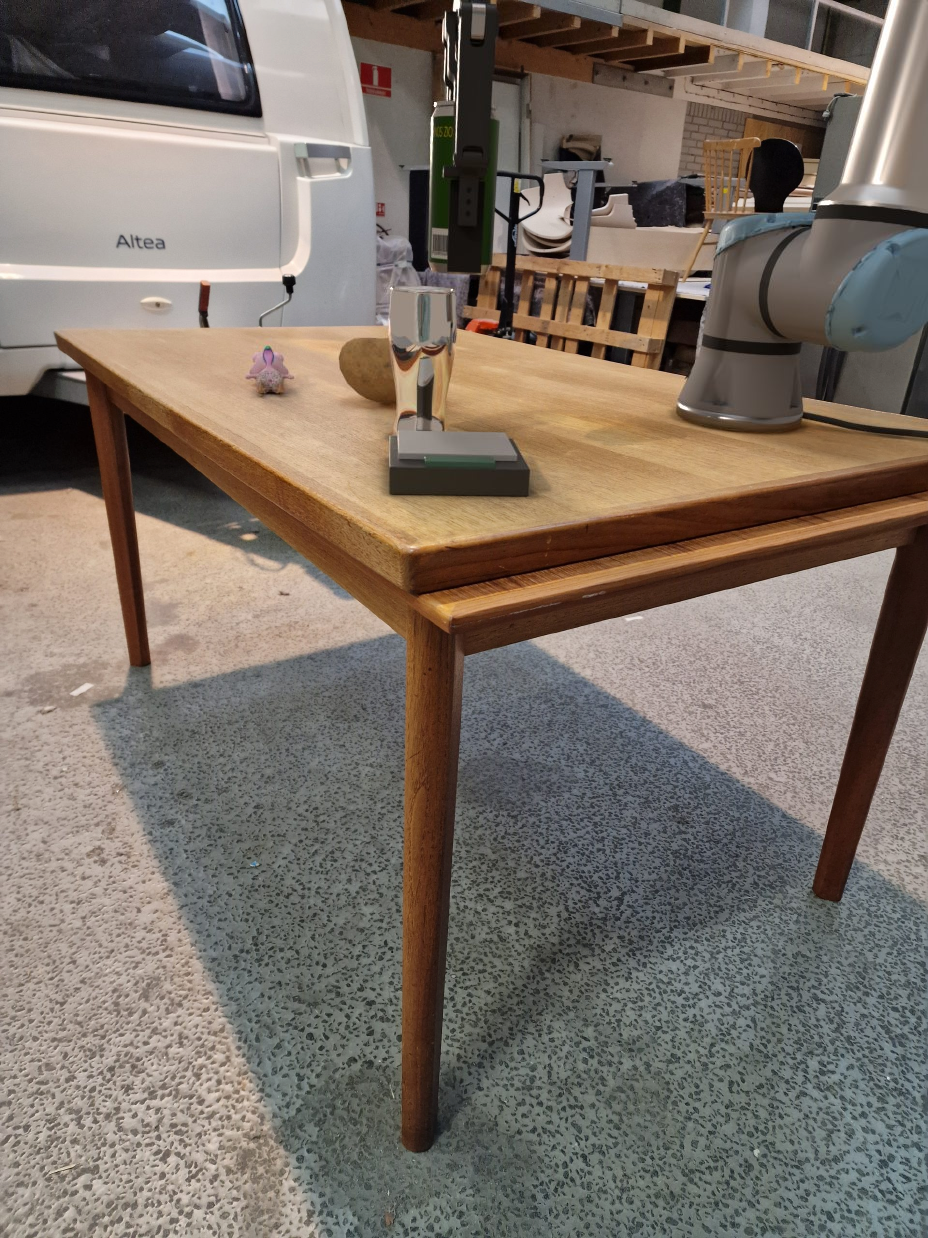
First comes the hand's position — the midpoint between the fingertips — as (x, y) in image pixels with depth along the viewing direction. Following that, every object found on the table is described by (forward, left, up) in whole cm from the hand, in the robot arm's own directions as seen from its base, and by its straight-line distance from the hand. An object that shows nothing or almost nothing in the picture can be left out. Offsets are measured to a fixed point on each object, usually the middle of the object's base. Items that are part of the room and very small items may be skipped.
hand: (460, 269), depth 68 cm
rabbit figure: (+22, -41, -18) cm, 50 cm away
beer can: (0, 0, -1) cm, 1 cm away
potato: (+5, -32, -18) cm, 37 cm away
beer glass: (+3, -14, -18) cm, 22 cm away
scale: (0, +1, -18) cm, 18 cm away
